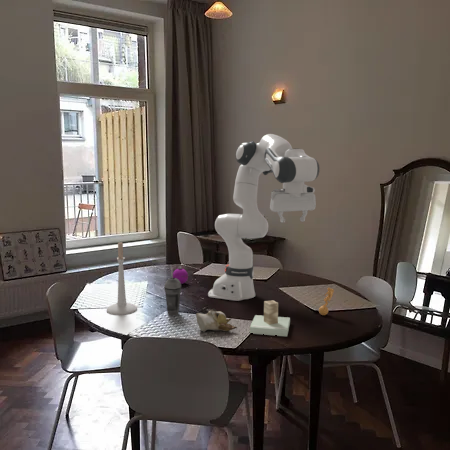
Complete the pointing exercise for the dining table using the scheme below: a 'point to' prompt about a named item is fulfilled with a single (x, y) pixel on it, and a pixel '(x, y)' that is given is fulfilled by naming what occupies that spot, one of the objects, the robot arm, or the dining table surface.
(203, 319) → the ceramic sculpture
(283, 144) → the robot arm
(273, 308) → the tan block
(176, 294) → the beverage cup
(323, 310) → the figurine
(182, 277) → the christmas ornament
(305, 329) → the dining table surface
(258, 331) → the sage board
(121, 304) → the candlestick
